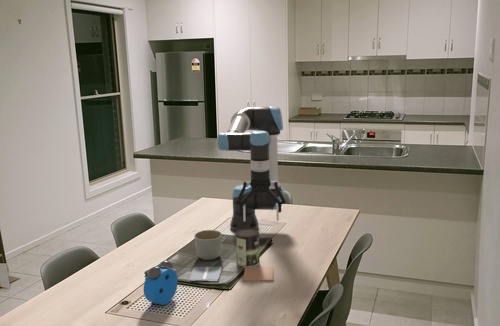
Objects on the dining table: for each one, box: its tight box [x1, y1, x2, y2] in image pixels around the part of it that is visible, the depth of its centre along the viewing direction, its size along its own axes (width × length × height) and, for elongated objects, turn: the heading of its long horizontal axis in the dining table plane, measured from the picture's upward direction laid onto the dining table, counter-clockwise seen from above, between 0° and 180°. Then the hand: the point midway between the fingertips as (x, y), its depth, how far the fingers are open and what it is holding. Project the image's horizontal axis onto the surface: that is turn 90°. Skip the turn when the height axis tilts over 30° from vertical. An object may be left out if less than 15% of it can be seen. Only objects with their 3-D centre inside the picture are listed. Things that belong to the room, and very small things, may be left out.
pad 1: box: [188, 266, 223, 281], centre depth 193 cm, size 12×12×1 cm
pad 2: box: [243, 266, 274, 283], centre depth 192 cm, size 12×12×1 cm
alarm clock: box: [143, 260, 179, 306], centre depth 171 cm, size 13×6×15 cm, turn 152°
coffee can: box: [234, 229, 261, 268], centre depth 203 cm, size 10×10×14 cm
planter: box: [194, 229, 223, 261], centre depth 210 cm, size 12×12×11 cm
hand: (261, 220), depth 191 cm, fingers open, 13 cm apart
